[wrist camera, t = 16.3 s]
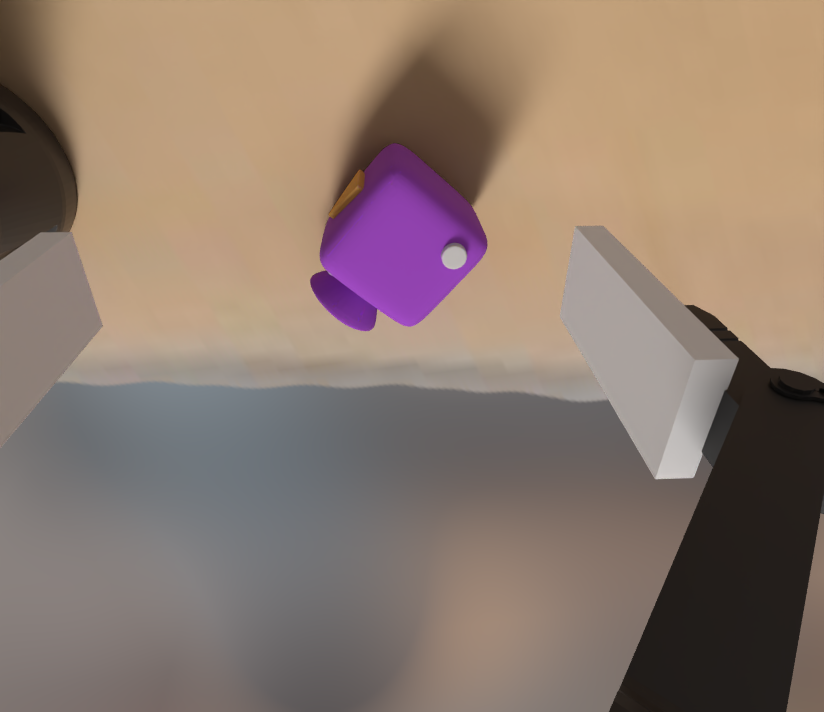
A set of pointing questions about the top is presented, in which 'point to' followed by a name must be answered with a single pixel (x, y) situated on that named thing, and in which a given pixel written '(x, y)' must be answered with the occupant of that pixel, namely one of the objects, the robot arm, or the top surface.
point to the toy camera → (395, 243)
